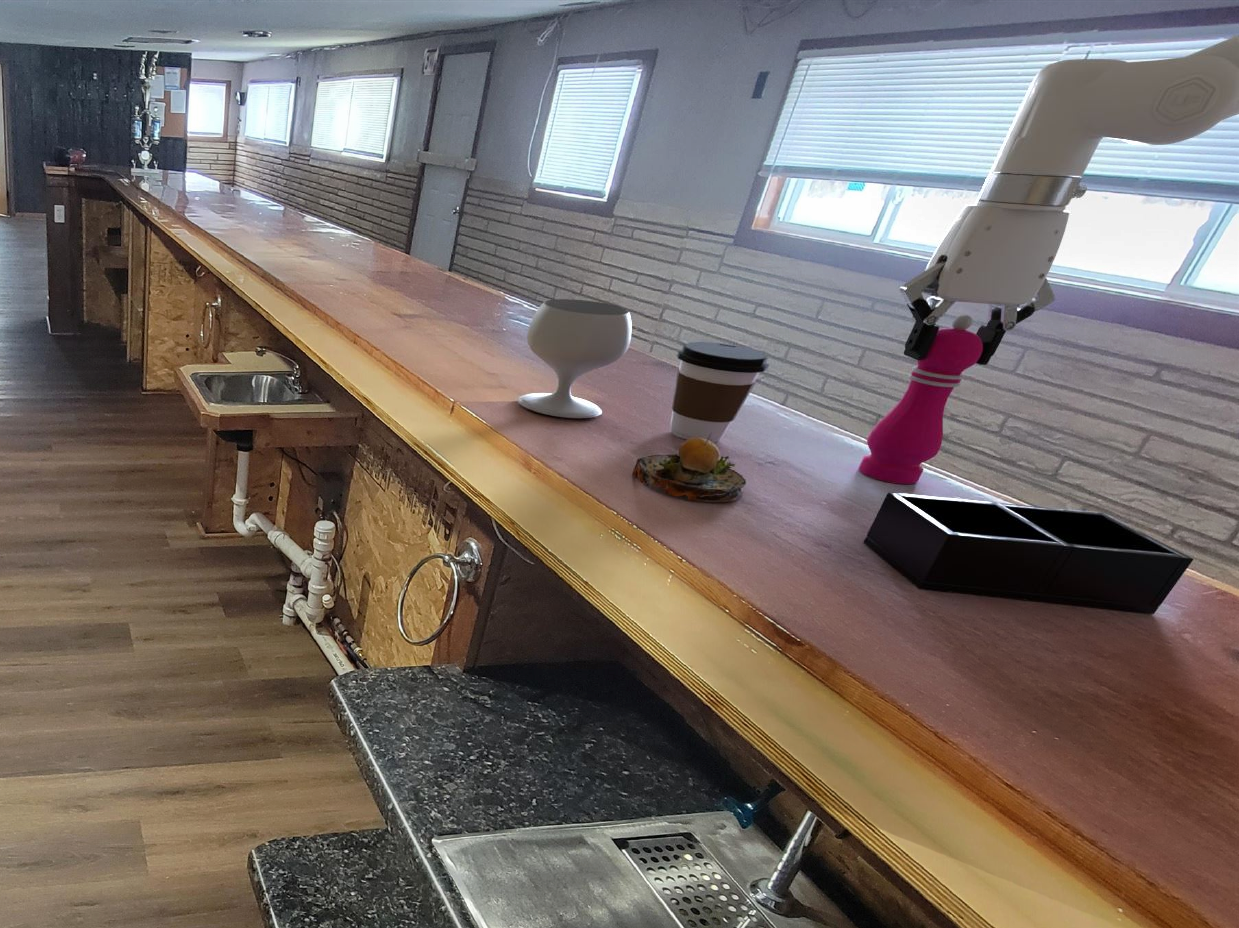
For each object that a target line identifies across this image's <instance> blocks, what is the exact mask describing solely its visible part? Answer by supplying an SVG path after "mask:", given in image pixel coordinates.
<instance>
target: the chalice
mask: <svg viewBox="0 0 1239 928" xmlns="http://www.w3.org/2000/svg"><path fill="white" fill-rule="evenodd" d="M632 325H633V324H632V317H631V313H630V311H629V310H628V309H626V308H625V307H622V306H619V305H615V304H611V303H606V302H600V301H592V300H584V299H572V298H570V299H569V298H557V299H547V300H545V301H543V303H542V304H541V305H540V306H539V307H538V308H537V310H536V312H535V313H534V315H533V317H532V319H531V321H530V323H529V326H528V329H527V335H526V343H527V345H528V347H529V349H530V350H531V352H532V353H533V354H534V355H536V356H537V357H538V358H539V359H541V360H542V361H543V362H544V363H545V364H547V365H548V366H549V367H550V368H551V369H552V370H553V371H554V373H555V374H556V377H557V380H558V385H557V387H556V389H555V390H554V391H553V392H552V393H549V392H537V393H536V392H534V393H533V392H531V393H526V394H523V395H521V396H519V397H518V398H517V403H518V404H519V405H520V406H522V407H524V408H525V409H528V410H531V411H532V412H535V413H539V414H543V415H549V416H552V417H559V418H568V419H590V418H596V417H600V416H601V415H602V414H603V411H602V409H601V408H600V406H598V405H597V404H595V403H594V402H591V401H588V400H586V399H583V398H579V397H574V396H573V395H572V392H571V390H572V389H571V388H572V385H573V383H574V382H575V381H576V380H577V379H578V378H579V377H581V376H582V375H584V374H586V373H589V372H591V371H594V370H597V369H599V368H603V367H605V366H609V365H611V364H613V363H615V362H617V361H619V360H620V359H621V358H622V357H623V356H624V355H625V354H626V352H627V351H628V350H629V347H630V344H631V339H632V331H633V330H632V328H633V327H632Z"/></svg>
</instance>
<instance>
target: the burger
mask: <svg viewBox="0 0 1239 928" xmlns="http://www.w3.org/2000/svg"><path fill="white" fill-rule="evenodd" d="M711 433H712V432H711ZM710 435H711V434H710ZM709 438H710V436H709V437H708V440H707V439H703V438H691V439H689V440H685V441H684V442H682V443H681V445H680V446H679V449H678V453H676V454H651V455H648V456H647V455H646V456H641V457H638V458H637V459H636V461H635V464H634V465H635V466H634V468H633V471H632V477H633V478H635V477H637V478H638V481H639V483H640V484H642V485H643V484H645V486H646V487H648V486H654V487H655V488H657V487H659V488H661V489H663V490H664V493H665V494H666V495H672V496H673V497H681V496H686V497H687V500H692V501H699V502H709V503H710V502H711V503H713V502H715V503H716V502H717V503H721V502H722V503H723V502H724V503H725V502H731V501H732V502H733V501H736V500H739V499H740V498H742V497H743V490H742V489H743V488H744V487H745V486H746V484H747V479H745V477H744V476H743V475H742V474H741V473H739V472H737V471H736V470H735V469H732V467H735V466H736V463H732V462H730V461H729V462H727V460H728V459H730V457H729V455H726V456H723V455H722V456H721V453H720V450H719V448H718V446H717V445H716V444H715V442H711V441H709Z"/></svg>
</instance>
